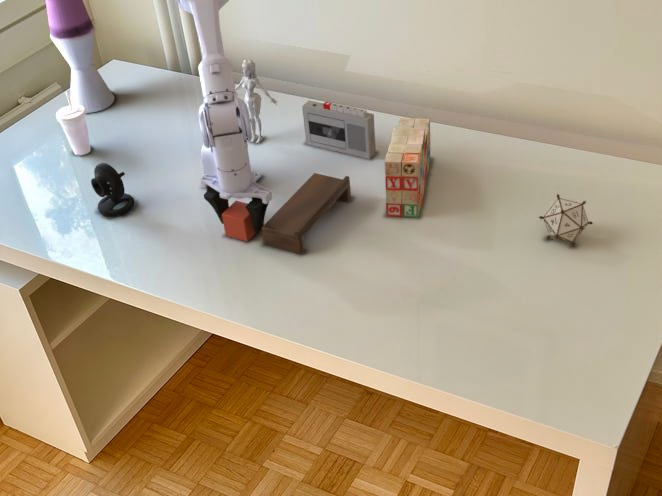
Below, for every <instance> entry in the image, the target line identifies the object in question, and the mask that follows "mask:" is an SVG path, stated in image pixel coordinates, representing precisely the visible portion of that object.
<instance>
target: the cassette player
mask: <svg viewBox="0 0 662 496" xmlns="http://www.w3.org/2000/svg"><path fill="white" fill-rule="evenodd" d="M301 108H302V118H303V127H304V136H305V137H304V138H305V145H308V146H313V147H317V148H321V149H325V150H330V151H334V152H339V153H342V154H347V155H351V156H356V157H359V158H363V159H366V160H367V159H368V160H370V159H371V158H372V157H373V156H374V155H375V154H376V152H377V151H376V132H375V131H376V129H375V114H374V113H371V112H368V111H367V109H363V108H358V107H355V106H348V105H343V104H338V103H333V102H329V101H325V102H324V103H323V102H318V101H313V100H308V101H306V102H305V103H304V104H303V105H302V106H301Z"/></svg>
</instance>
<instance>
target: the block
mask: <svg viewBox="0 0 662 496" xmlns="http://www.w3.org/2000/svg"><path fill="white" fill-rule="evenodd" d="M248 203H249V202H244V201H241V200H240V201H239V200H234V202H233V203H231V204H230V205H229V208H228V209H227V210H225V211H224V212H223V213H222V219H223V224H222V225H223V229H224V234H225V236H226V237H229V238H233V239H237V240H239V241H244V242H249V241H250V240H251V238H253V236H255V234H256V233H255V231H254V229H253V224H252V219H251V217H250V214H249V212H248V211H247V209H246V207H245V206H246V205H247V204H248Z"/></svg>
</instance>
